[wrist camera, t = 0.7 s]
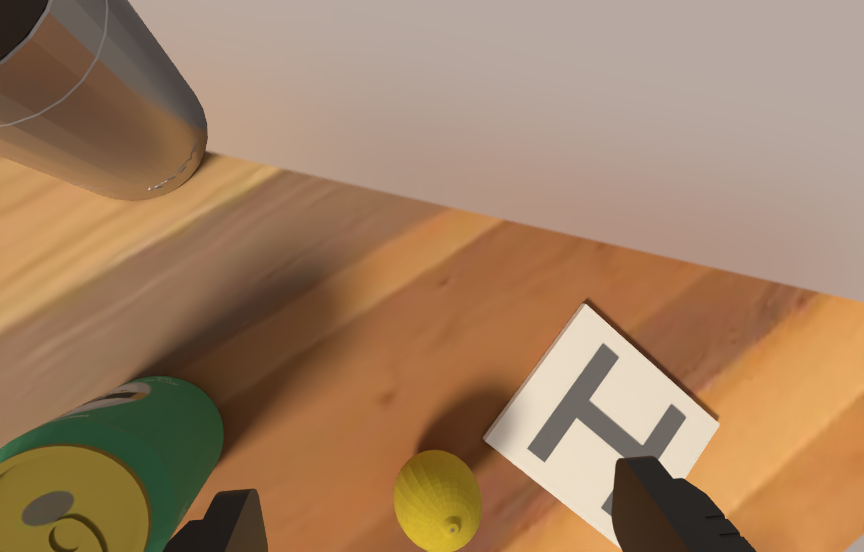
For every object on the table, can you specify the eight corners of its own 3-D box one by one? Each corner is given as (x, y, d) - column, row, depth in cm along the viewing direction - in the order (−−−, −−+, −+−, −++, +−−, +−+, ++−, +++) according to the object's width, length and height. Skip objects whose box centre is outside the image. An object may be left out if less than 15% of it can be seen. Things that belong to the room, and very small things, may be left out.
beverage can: (192, 351, 30) (106, 394, 19) (248, 456, 31) (199, 561, 19) (67, 410, 29) (-113, 499, 17) (129, 520, 29) (-4, 677, 18)
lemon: (406, 423, 33) (429, 466, 26) (472, 450, 34) (514, 499, 27) (373, 496, 33) (387, 563, 25) (442, 521, 34) (475, 593, 26)
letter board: (482, 438, 35) (485, 441, 34) (581, 303, 36) (586, 303, 36) (628, 554, 37) (633, 559, 36) (714, 422, 39) (721, 424, 38)
